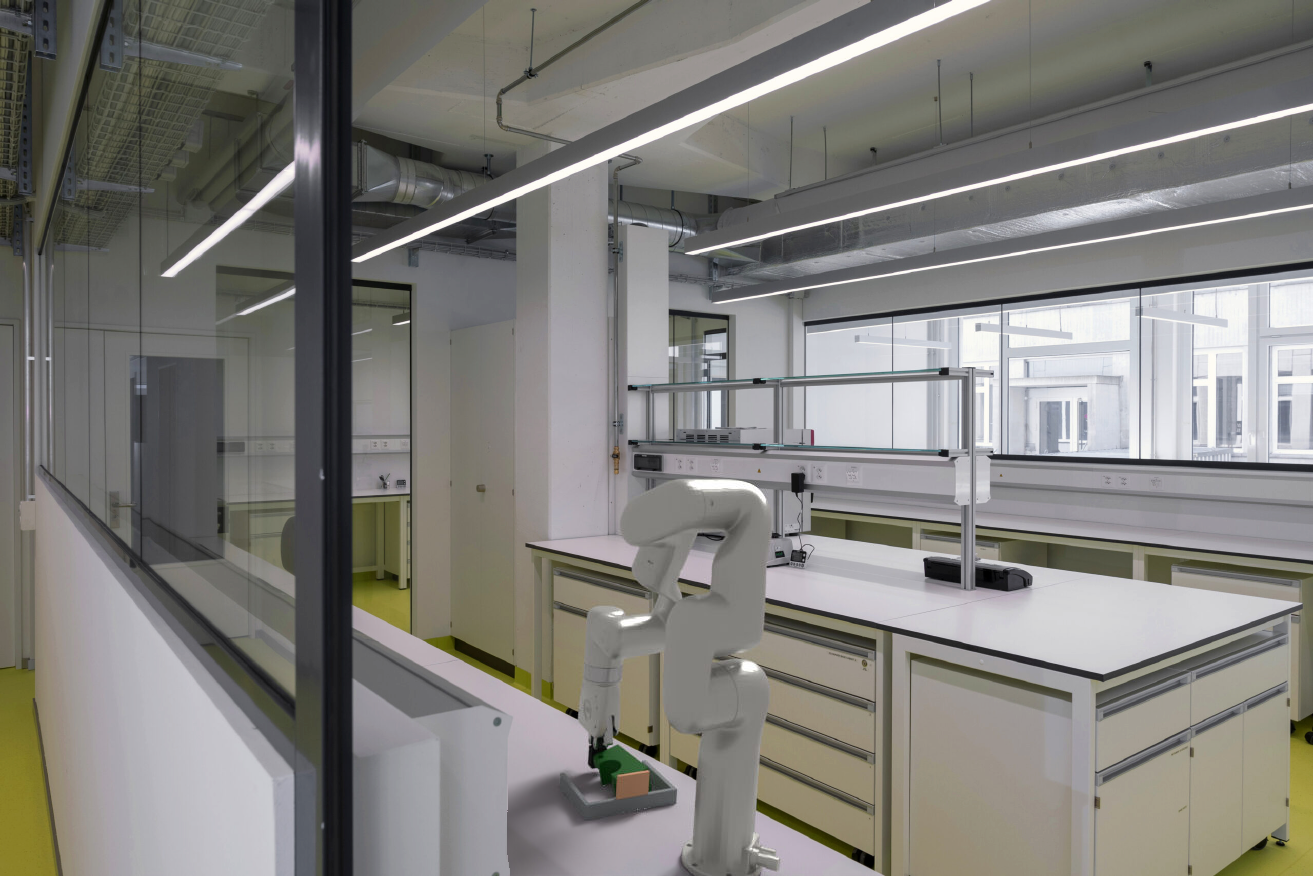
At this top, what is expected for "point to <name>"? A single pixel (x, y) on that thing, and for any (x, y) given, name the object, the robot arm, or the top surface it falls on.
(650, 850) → the top surface
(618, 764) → the clamp
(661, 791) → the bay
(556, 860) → the top surface
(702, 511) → the robot arm
